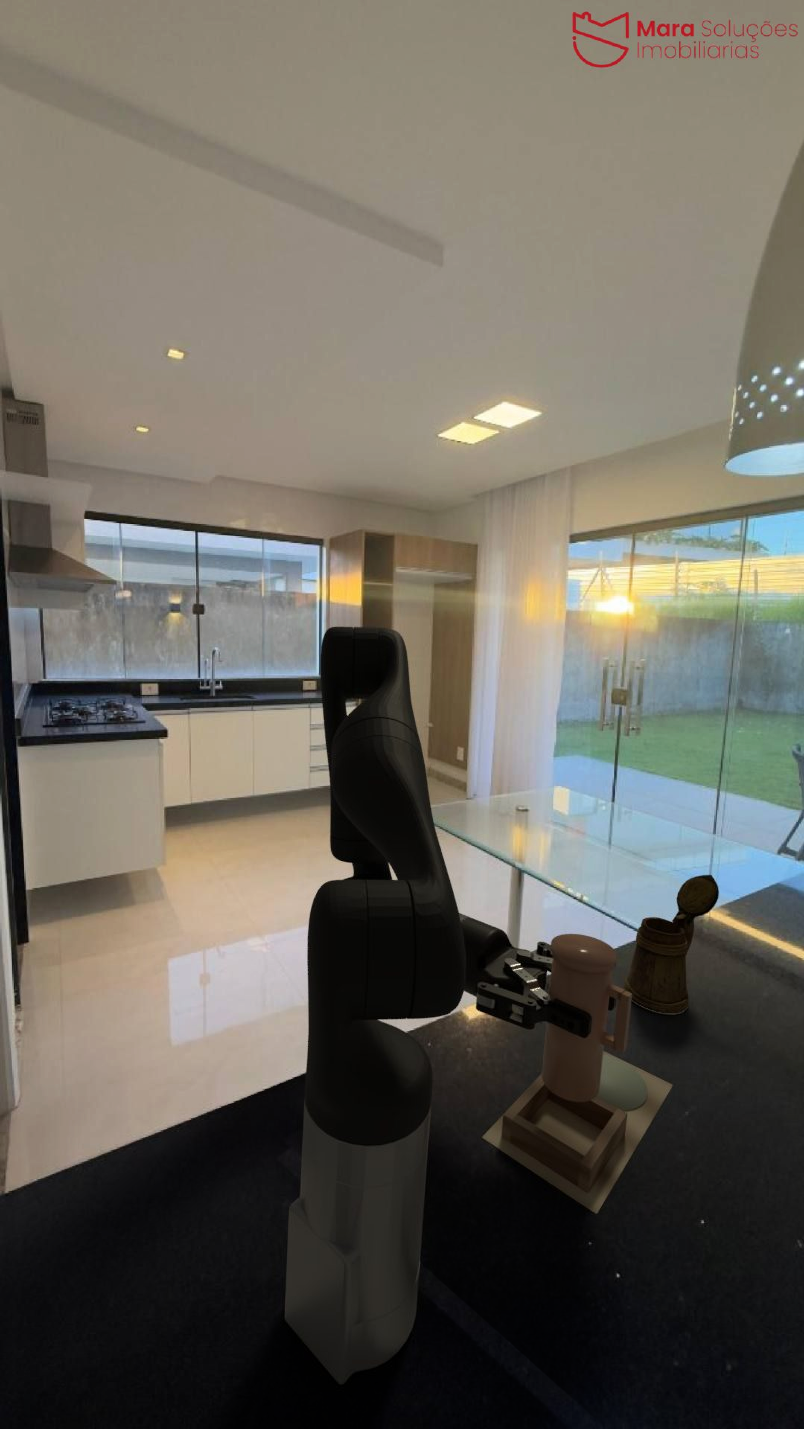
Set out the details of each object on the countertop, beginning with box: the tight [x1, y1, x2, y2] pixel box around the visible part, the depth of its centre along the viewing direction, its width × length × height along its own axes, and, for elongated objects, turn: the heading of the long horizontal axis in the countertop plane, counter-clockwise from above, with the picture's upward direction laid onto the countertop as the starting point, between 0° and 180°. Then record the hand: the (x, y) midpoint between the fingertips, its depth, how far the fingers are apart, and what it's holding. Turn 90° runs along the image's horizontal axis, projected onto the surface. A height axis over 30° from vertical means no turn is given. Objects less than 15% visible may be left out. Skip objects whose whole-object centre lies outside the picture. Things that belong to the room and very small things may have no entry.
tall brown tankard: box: [541, 933, 632, 1102], centre depth 60 cm, size 6×8×14 cm
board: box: [481, 1051, 674, 1215], centre depth 66 cm, size 22×12×4 cm, turn 140°
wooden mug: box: [623, 874, 720, 1013], centre depth 90 cm, size 9×14×18 cm, turn 114°
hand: (602, 1012), depth 59 cm, fingers closed on tall brown tankard, 5 cm apart
